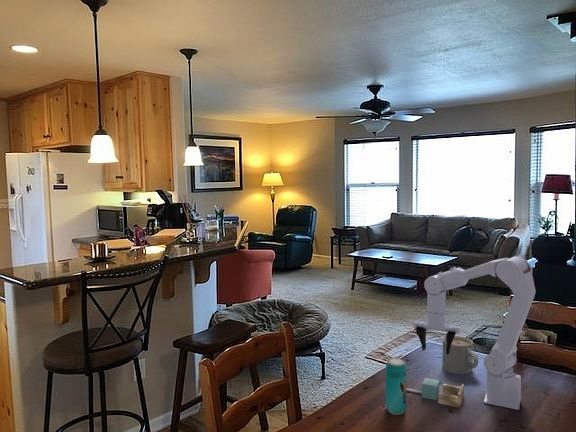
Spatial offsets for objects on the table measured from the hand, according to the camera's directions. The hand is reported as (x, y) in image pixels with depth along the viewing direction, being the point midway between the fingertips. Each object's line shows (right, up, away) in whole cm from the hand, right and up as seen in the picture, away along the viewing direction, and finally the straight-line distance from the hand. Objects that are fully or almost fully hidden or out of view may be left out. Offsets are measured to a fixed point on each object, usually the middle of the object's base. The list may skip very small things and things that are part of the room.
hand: (435, 351), depth 157 cm
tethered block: (-8, -11, -8) cm, 16 cm away
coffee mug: (+11, -9, +9) cm, 17 cm away
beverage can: (-18, -12, -19) cm, 29 cm away
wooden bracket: (0, -11, -13) cm, 17 cm away
